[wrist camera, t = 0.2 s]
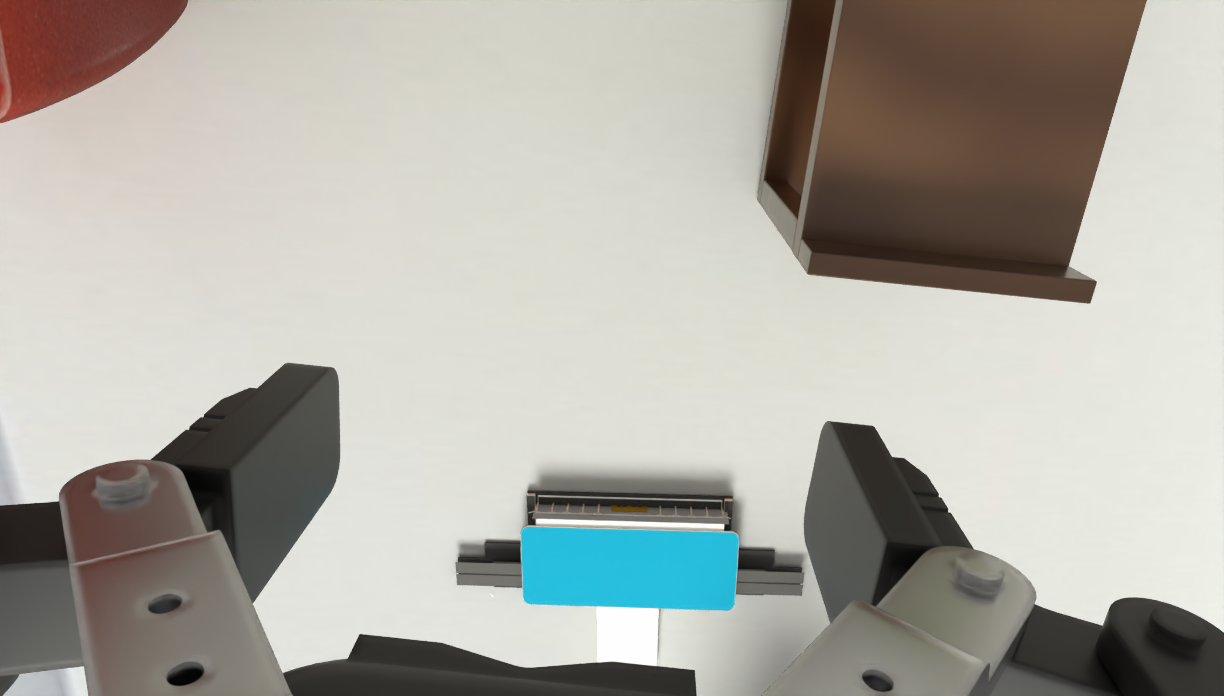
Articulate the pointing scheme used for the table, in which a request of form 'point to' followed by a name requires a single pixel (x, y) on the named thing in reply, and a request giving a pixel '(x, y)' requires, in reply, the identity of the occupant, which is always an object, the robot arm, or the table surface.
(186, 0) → the flower pot
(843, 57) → the box
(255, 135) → the table surface
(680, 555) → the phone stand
